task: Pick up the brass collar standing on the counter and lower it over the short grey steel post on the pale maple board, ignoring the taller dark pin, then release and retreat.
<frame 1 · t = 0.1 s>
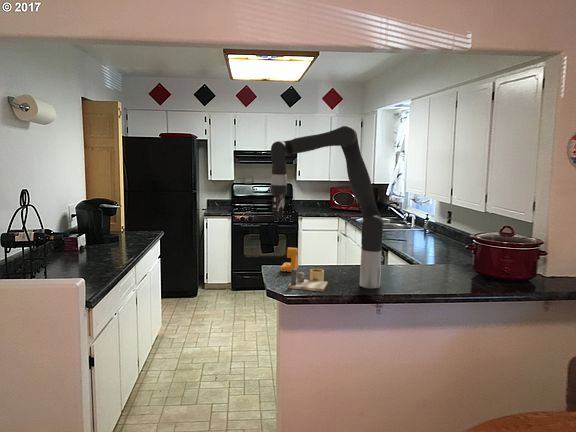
hand: (278, 217, 219), 29 cm above the countertop, tool pointing down, fingers open, 8 cm apart
maple board: (308, 286, 209), on the countertop
brass collar: (316, 280, 218), on the countertop
bracket: (289, 270, 236), on the countertop
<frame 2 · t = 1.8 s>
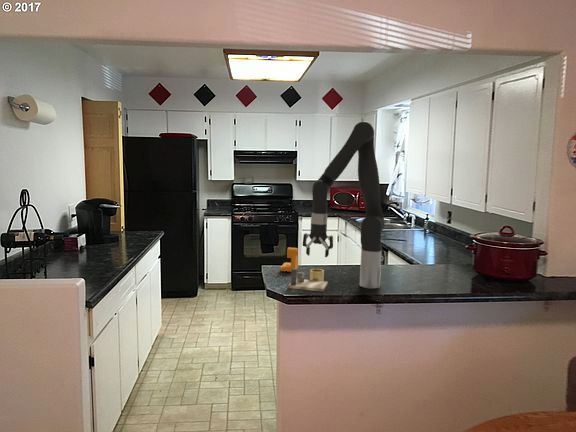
hand: (317, 256, 217), 12 cm above the countertop, tool pointing down, fingers open, 8 cm apart
nothing on the countertop moved.
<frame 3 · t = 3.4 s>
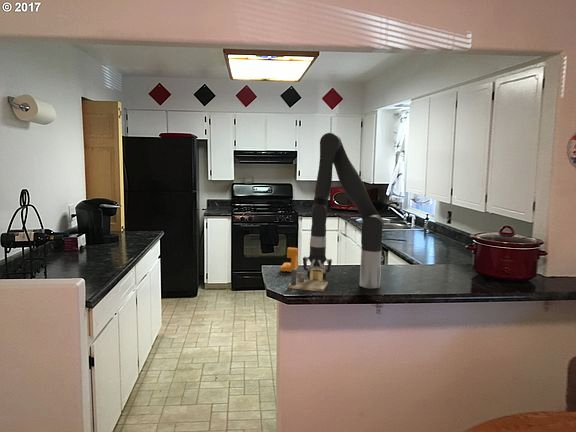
hand: (316, 279, 218), 1 cm above the countertop, tool pointing down, fingers closed on brass collar, 6 cm apart
brass collar: (316, 280, 218), on the countertop, touching gripper
everything else where it was.
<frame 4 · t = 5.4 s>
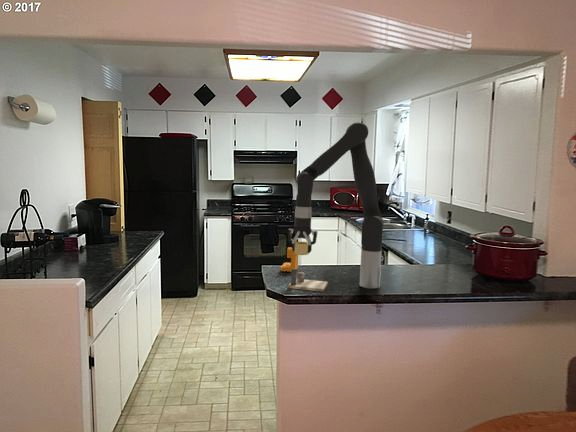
hand: (301, 252, 210), 15 cm above the countertop, tool pointing down, fingers closed on brass collar, 6 cm apart
brass collar: (301, 253, 211), point 14 cm above the countertop, touching gripper
everything else where it was.
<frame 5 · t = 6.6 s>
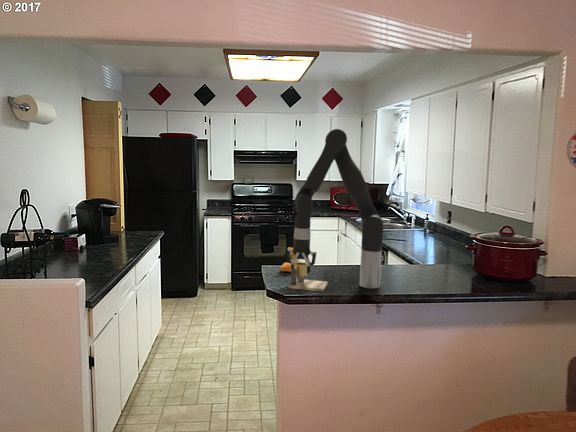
hand: (300, 272, 212), 5 cm above the countertop, tool pointing down, fingers closed on brass collar, 6 cm apart
brass collar: (300, 274, 212), point 5 cm above the countertop, touching gripper
everything else where it was.
when the fingers open (3 cm above the countertop, at t = 7.6 s): brass collar drops 1 cm, resting on maple board.
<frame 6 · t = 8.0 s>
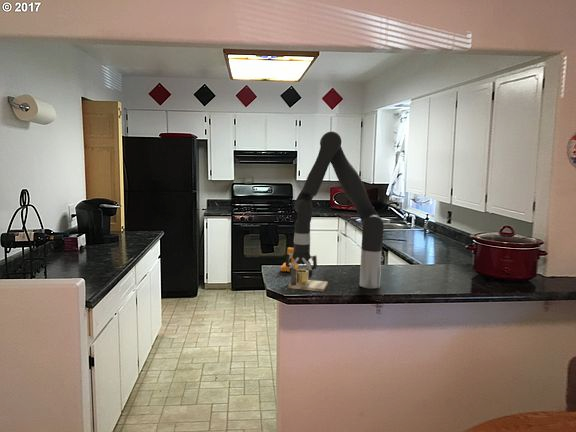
hand: (300, 276, 212), 4 cm above the countertop, tool pointing down, fingers open, 8 cm apart
brass collar: (300, 281, 212), point 1 cm above the countertop, touching maple board
everything else where it was.
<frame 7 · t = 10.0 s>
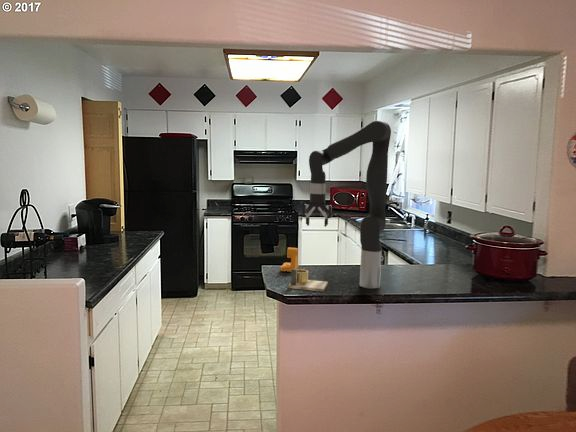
hand: (316, 225, 222), 25 cm above the countertop, tool pointing down, fingers open, 8 cm apart
nothing on the countertop moved.
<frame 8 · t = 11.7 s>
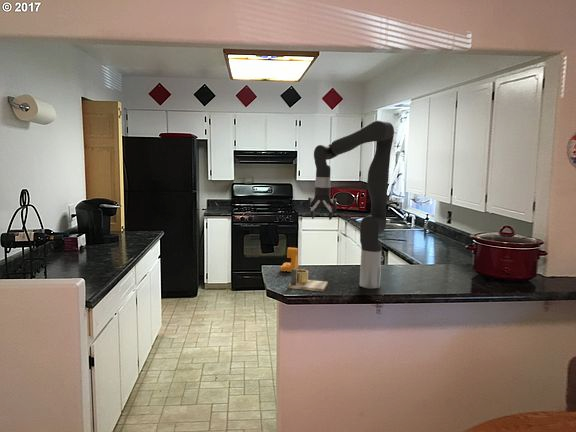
hand: (321, 219, 226), 28 cm above the countertop, tool pointing down, fingers open, 8 cm apart
nothing on the countertop moved.
at the end: brass collar 0.1 cm from the target spot on the maple board, point 1.2 cm above the maple board's base; the gripper is holding nothing; brass collar tilted 0° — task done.
